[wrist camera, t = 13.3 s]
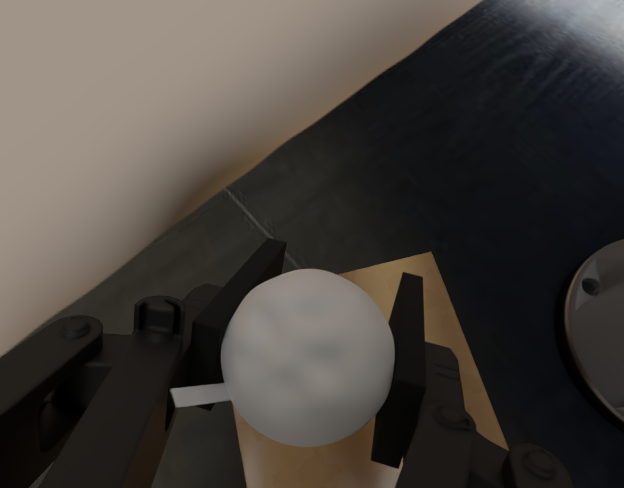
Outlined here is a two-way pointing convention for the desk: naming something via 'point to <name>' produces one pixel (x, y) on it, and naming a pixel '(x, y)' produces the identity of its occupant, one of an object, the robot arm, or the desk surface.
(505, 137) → the desk surface
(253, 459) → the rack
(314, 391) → the milkshake
